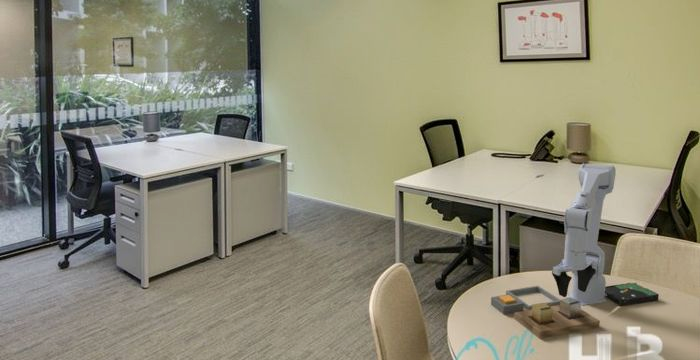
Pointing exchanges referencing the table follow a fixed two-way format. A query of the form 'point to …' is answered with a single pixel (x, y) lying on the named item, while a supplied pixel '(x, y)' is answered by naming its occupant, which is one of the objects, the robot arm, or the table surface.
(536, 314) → the block
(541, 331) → the wooden pocket board
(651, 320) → the table surface
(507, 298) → the button
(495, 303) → the button housing
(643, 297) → the disk drive
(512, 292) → the tray
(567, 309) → the block
